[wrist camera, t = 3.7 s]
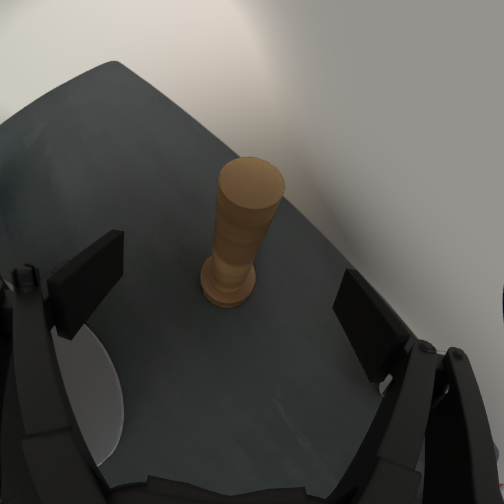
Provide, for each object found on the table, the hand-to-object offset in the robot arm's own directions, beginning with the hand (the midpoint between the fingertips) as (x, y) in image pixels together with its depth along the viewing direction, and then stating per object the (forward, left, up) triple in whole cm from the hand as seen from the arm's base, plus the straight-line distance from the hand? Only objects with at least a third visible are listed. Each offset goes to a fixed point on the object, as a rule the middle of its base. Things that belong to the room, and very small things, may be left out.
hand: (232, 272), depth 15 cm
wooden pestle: (-3, -1, -12) cm, 12 cm away
